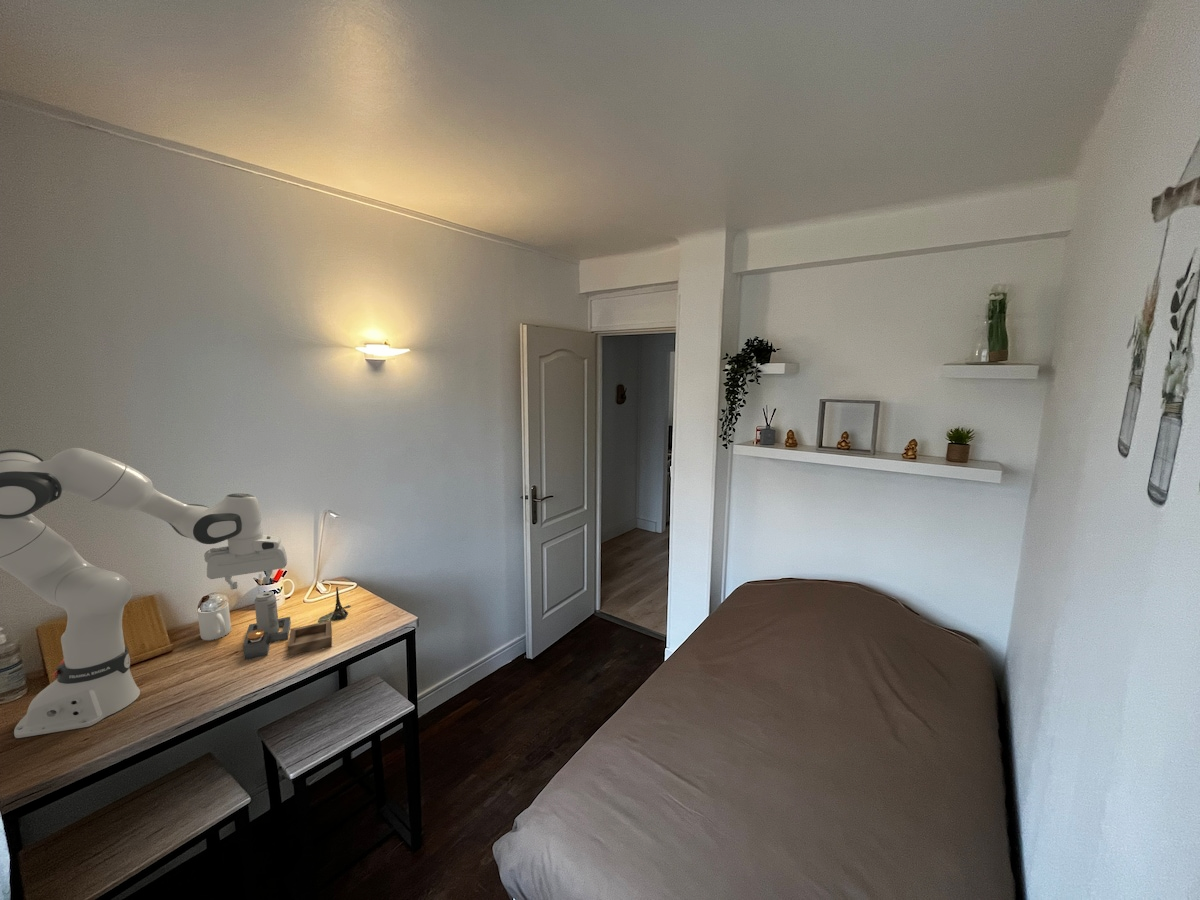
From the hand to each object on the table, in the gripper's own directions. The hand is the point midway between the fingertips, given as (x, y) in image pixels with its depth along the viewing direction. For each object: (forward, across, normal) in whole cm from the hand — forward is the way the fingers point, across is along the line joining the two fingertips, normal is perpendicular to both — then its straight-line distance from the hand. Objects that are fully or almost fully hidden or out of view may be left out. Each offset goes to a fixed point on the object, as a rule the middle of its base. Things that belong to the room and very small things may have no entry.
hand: (250, 585), depth 149 cm
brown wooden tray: (+23, +15, -1) cm, 28 cm away
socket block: (+23, +2, +7) cm, 24 cm away
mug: (+23, -13, +18) cm, 32 cm away
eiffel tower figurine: (+24, +23, +15) cm, 36 cm away
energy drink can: (+23, +2, +11) cm, 26 cm away
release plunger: (+22, 0, 0) cm, 22 cm away
